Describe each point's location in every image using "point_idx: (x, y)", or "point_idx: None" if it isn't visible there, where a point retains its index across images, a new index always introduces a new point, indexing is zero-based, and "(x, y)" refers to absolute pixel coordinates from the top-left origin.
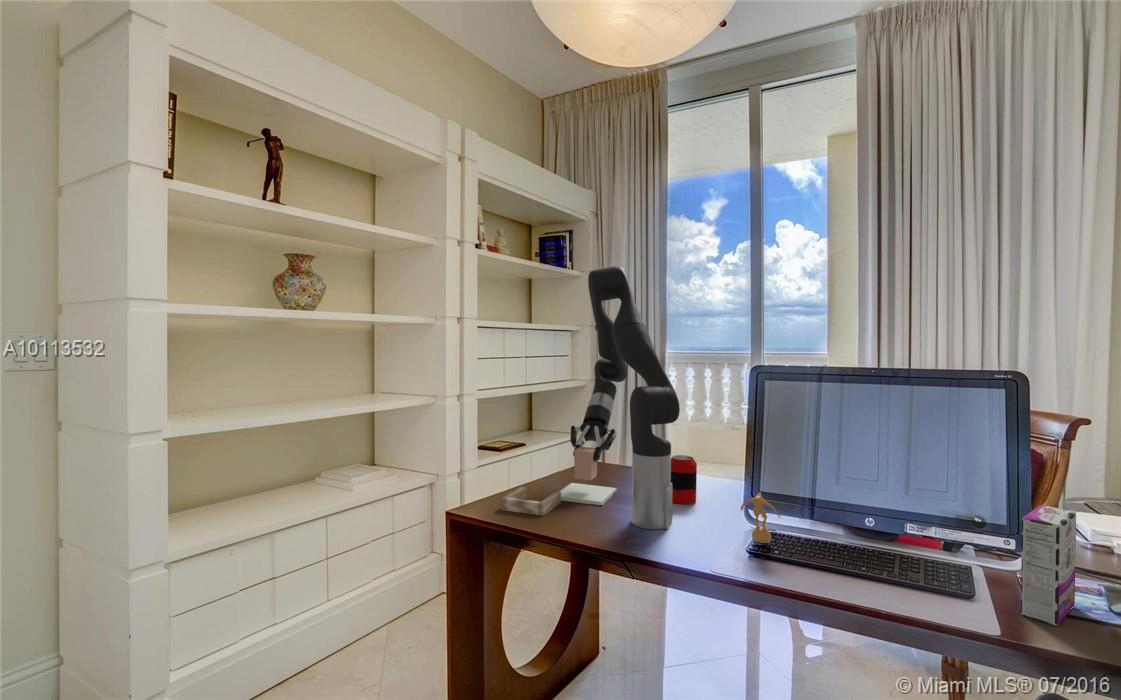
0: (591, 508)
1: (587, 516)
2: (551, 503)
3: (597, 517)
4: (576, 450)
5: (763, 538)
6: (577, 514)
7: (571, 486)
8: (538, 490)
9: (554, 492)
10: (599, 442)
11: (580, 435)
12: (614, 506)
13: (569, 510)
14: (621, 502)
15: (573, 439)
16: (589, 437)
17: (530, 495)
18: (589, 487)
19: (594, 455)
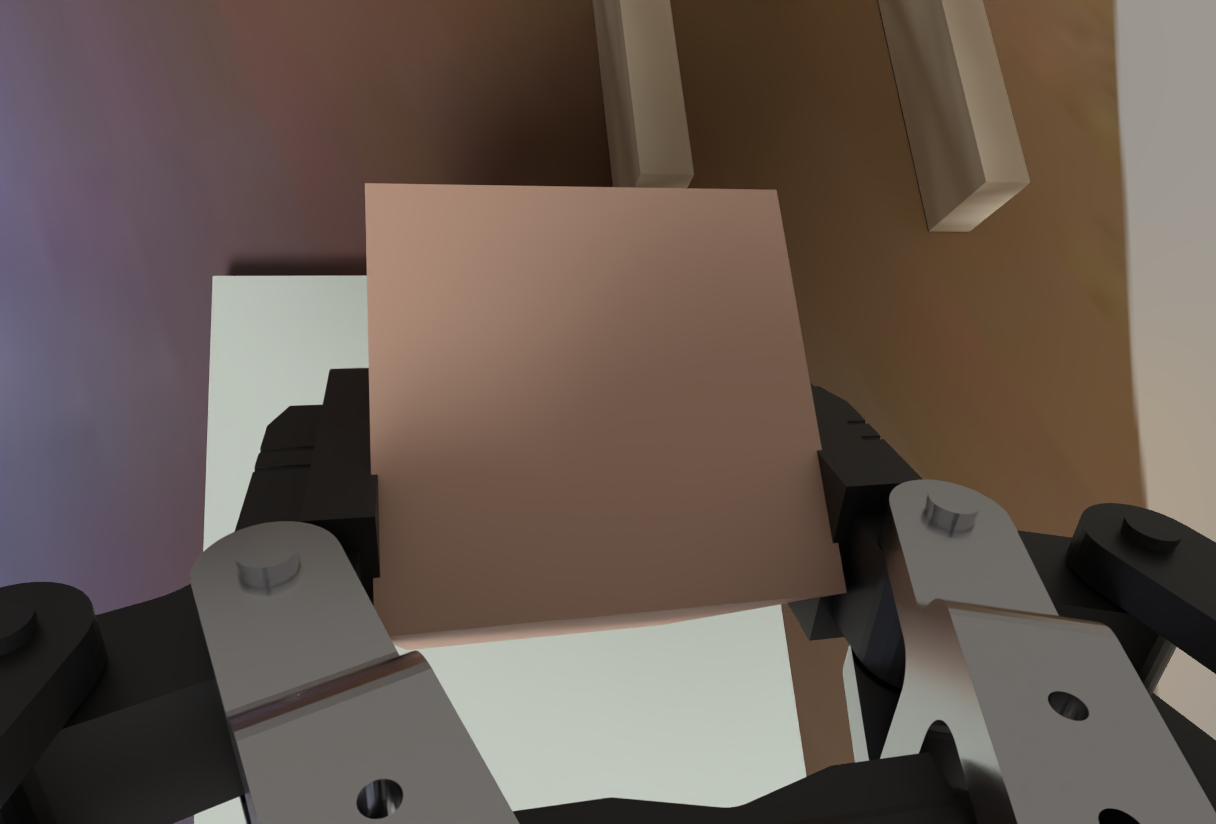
0: (296, 190)
1: (259, 3)
2: (608, 9)
3: (166, 6)
4: (732, 190)
5: None
6: (358, 21)
7: (737, 649)
8: (977, 473)
9: (682, 131)
10: (259, 634)
11: (1095, 638)
12: (85, 324)
13: (460, 83)
14: (36, 481)
15: (1160, 563)
16: (774, 816)
17: (943, 310)
18: (538, 721)
19: (356, 385)
